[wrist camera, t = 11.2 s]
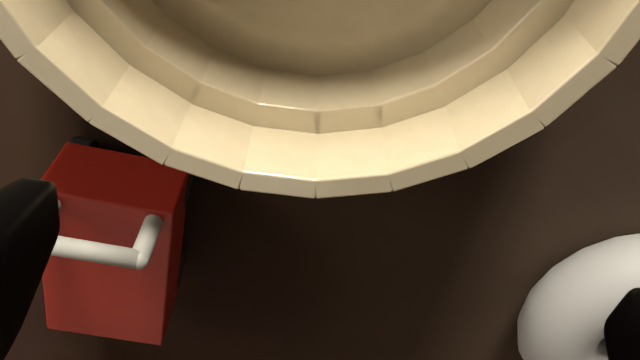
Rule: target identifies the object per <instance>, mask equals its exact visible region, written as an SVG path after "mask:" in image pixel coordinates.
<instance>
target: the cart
mask: <svg viewBox="0 0 640 360" xmlns="http://www.w3.org/2000/svg"><path fill="white" fill-rule="evenodd" d="M193 177H194V175H192V174H189V173H186V172H183V171H180V170H177V169H174V168H171V167H168V166H165V165H164V164H163V165H161V164H159V163H158V162H156V161H154V160H152V159H151V158H149V157H143V156H138V155H133V154H127V153H122V152H117V151H112V150H106V149H101V148H99V143H98V142H97V141H96V140H94V139H88V138H83V137H78V136H76V137H73V138H71V139H70V141H69V142H67V143H66V144H65V145H64V147H63V148H62V149H61V151H60V152H59V154H58V155H57V157H56V158H55V160H54V161H53V162H52V164H51V165H50V167H49V168H48V170H47V171H46V173H45V174H44V175H43V177H42V178H41V180H47V181H51V182H53V183H54V184H55V186H56V188H57V195H58V206H59V217H60V230H59V235H58V238H57V241H56V244H55V246H54V248H53V251H52V253H51V256H50V258H49V261H48V263H47V266H46V268H45V271H44V273H43V276H42V278H43V288H44V299H45V309H46V319H47V328H49V329H55V330H62V331H68V332H75V333H82V334H88V335H95V336H101V337H108V338H115V339H121V340H128V341H134V342H141V343H148V344H154V345H161V344H162V342H163V339H164V336H165V332H166V329H167V325H168V322H169V318H170V315H171V312H172V308H173V305H174V301H175V298H176V294H177V290H178V287H179V283H180V279H181V275H182V270H183V264H184V258H185V250H184V249H183V248H182V241H183V232H184V222H185V213H186V206H187V203H188V200H189V196H190V192H191V188H192V182H193Z"/></svg>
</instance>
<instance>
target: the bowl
mask: <svg viewBox="0 0 640 360" xmlns="http://www.w3.org/2000/svg"><path fill="white" fill-rule="evenodd" d="M0 40H1V41H2V42H3V43H4V45H5V46H6V47H7V49H8V50H9V51H10V52H11V54H12V55H13V56H14V58H16V59H18V60H17V61H18V62H19V63H20V64H21V65H22V66H23V67H25V68H26V69H27V70H28V71H29V72H30V73H31V74H33V75H34V76H35V77H36V78H37V79H38V80H39V81H41V82H42V83H43V84H44V85H45V86H46V87H48V88H49V89H50V90H51V91H52V92H53V93H54V94H56V95H57V96H58V97H59V98H60V99H61V100H63V101H64V102H65V103H66V104H67V105H68V106H69V107H71V108H72V109H73V110H74V111H75V112H76V113H78V114H79V115H80V116H81V117H82V118H83V119H84V120H86V121H87V122H89V123H90V124H91V125H93V126H95V127H96V128H98V129H100V130H102V131H103V132H105V133H107V134H109V135H110V136H112V137H114V138H116V139H117V140H119V141H121V142H123V143H124V144H126V145H128V146H130V147H131V148H133V149H135V150H137V151H138V152H140V153H142V154H144V155H145V156H147V157H149V158H151V159H152V160H154V161H156V162H158V163H159V164H161V165H163V164H164V165H165V166H168V167H171V168H174V169H177V170H180V171H183V172H186V173H189V174H192V175H195V176H198V177H201V178H204V179H207V180H210V181H213V182H216V183H219V184H222V185H225V186H228V187H231V188H234V189H239V188H240V190H243V191H252V192H260V193H269V194H277V195H286V196H294V197H303V198H312V199H313V198H315V197H316V198H318V199H321V198H332V197H343V196H355V195H366V194H377V193H388V192H391V191H392V190H393V191H398V190H401V189H404V188H408V187H411V186H414V185H418V184H421V183H424V182H428V181H431V180H434V179H437V178H441V177H444V176H447V175H451V174H454V173H457V172H461V171H464V170H467V169H468V168H473V167H474V166H476V165H478V164H480V163H482V162H484V161H486V160H487V159H489V158H491V157H493V156H495V155H497V154H498V153H500V152H502V151H504V150H506V149H508V148H509V147H511V146H513V145H515V144H517V143H519V142H521V141H522V140H524V139H526V138H528V137H530V136H532V135H533V134H535V133H537V132H539V131H541V130H543V129H544V126H545V127H546V126H548V125H549V124H550V123H551V122H553V121H554V120H555V119H556V118H557V117H559V116H560V115H561V114H562V113H563V112H564V111H566V110H567V109H568V108H569V107H570V106H572V105H573V104H574V103H575V102H576V101H578V100H579V99H580V98H581V97H582V96H584V95H585V94H586V93H587V92H588V91H590V90H591V89H592V88H593V87H594V86H595V85H597V84H598V83H599V82H600V81H601V80H603V79H604V78H605V77H606V76H607V75H609V74H610V73H611V72H612V71H613V70H615V69H616V67H617V66H616V65H620V64H621V63H622V61H623V60H624V59H625V58H626V56H627V55H628V54H629V53H630V51H631V50H632V49H633V48H634V46H635V45H636V44H637V43H638V41H639V40H640V0H0Z"/></svg>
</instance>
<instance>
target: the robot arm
mask: <svg viewBox="0 0 640 360" xmlns="http://www.w3.org/2000/svg"><path fill="white" fill-rule="evenodd" d="M59 230H60V217H59V206H58V195H57V188H56V186H55V184H54V183H53V182H51V181H47V180H41V179H36V178H30V177H25V178H22V179H19V180H17V181H15V182H13V183H11V184H9V185H7V186H5V187H3V188H1V189H0V360H4V359H5V357H6V355H7V353H8V351H9V350H10V348H11V346H12V344H13V342H14V340H15V338H16V336H17V334H18V333H19V331H20V329H21V326H22V324H23V322H24V319H25V317H26V315H27V312H28V310H29V308H30V305H31V303H32V300H33V298H34V295H35V293H36V290H37V288H38V285H39V283H40V280H41V278H42V276H43V273H44V271H45V268H46V266H47V263H48V261H49V258H50V256H51V253H52V251H53V248H54V246H55V244H56V241H57V238H58V235H59ZM604 338H605V344H606V350H607V355H608V360H640V288H634V289H632V290H630V291H628V292H627V294H626V295H625V296H624V297H623V299H622V300H621V301H620V302H619V304H618V305H617V306H616V307H615V309H614V310H613V311H612V312H611V314H610V315H609V316H608V318H607V319H606V321H605V325H604Z"/></svg>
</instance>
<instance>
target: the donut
mask: <svg viewBox="0 0 640 360" xmlns="http://www.w3.org/2000/svg"><path fill="white" fill-rule="evenodd" d="M634 288H640V234H633V235H625V236H618V237H614V238H611V239H608V240H605V241H602V242H599V243H597V244H594V245H591V246H588V247H585V248H582V249H581V250H579V251H578V252H576V253H574V254H573V255H571V256H569V257H568V258H566V259H564V260H563V261H561V262H560V263H558V264H556V265H555V266H553V267H552V268H551V269H550V270H549V271H548V272H547V273H546V274H545V275H544V276H543V277H542V278H541V279H540V280H539V281H538V282H537V283H536V284H535V285H534V286H533V288H532V289H531V290H530V292H529V294H528V296H527V298H526V300H525V302H524V304H523V306H522V309H521V311H520V313H519V316H518V320H517V330H518V349H519V352H520V354H521V356H522V358H523V360H608V355H607V350H606V344H605V338H604V325H605V321H606V319H607V318H608V316H609V315H610V314H611V312H612V311H613V310H614V309H615V307H616V306H617V305H618V304H619V302H620V301H621V300H622V299H623V297H624V296H625V295H626V294H627V292H628V291H630V290H632V289H634Z"/></svg>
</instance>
